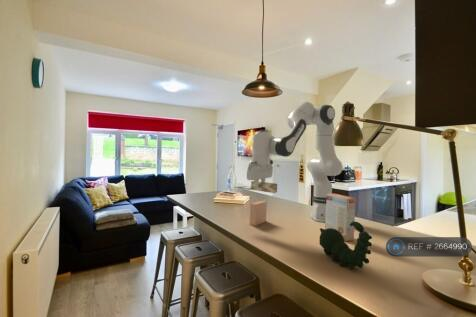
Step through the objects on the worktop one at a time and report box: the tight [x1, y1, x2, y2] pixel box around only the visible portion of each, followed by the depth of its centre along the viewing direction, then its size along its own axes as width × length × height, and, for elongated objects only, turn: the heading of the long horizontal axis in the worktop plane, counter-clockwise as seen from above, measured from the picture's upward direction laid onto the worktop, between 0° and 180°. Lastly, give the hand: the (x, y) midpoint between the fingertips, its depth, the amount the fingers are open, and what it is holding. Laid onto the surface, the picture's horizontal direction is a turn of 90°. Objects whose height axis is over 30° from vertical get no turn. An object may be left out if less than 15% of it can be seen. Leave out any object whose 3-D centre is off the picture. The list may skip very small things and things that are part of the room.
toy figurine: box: [319, 220, 373, 270], centre depth 95 cm, size 9×19×25 cm
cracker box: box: [324, 192, 357, 242], centre depth 123 cm, size 14×6×21 cm, turn 22°
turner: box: [234, 180, 278, 194], centre depth 130 cm, size 24×6×4 cm, turn 53°
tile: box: [249, 200, 268, 227], centre depth 142 cm, size 4×12×12 cm, turn 143°
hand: (259, 187), depth 128 cm, fingers closed on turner, 3 cm apart
